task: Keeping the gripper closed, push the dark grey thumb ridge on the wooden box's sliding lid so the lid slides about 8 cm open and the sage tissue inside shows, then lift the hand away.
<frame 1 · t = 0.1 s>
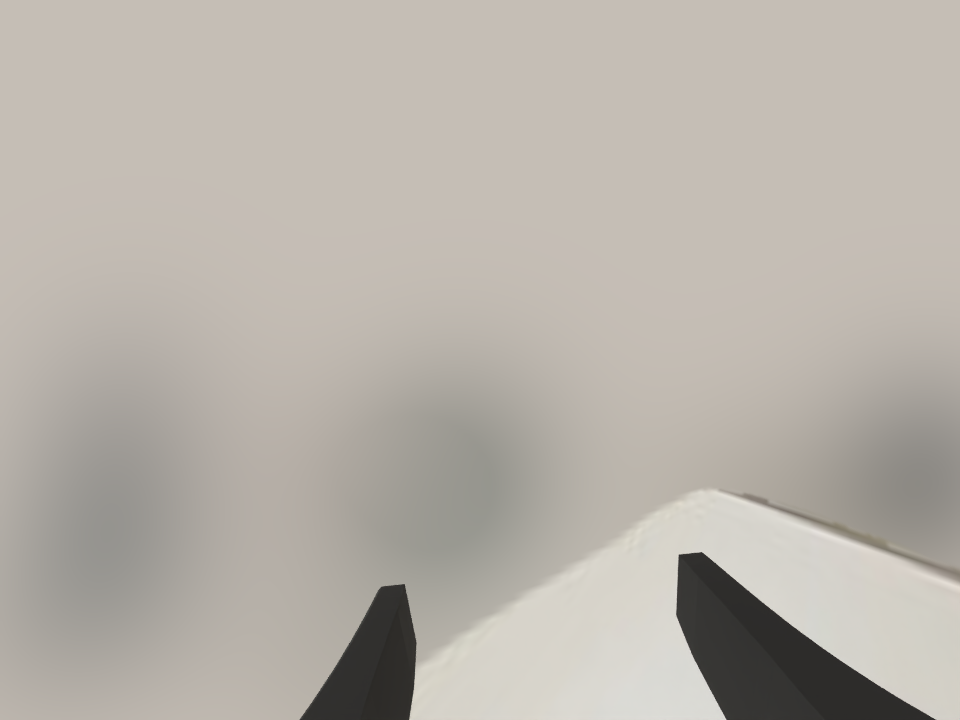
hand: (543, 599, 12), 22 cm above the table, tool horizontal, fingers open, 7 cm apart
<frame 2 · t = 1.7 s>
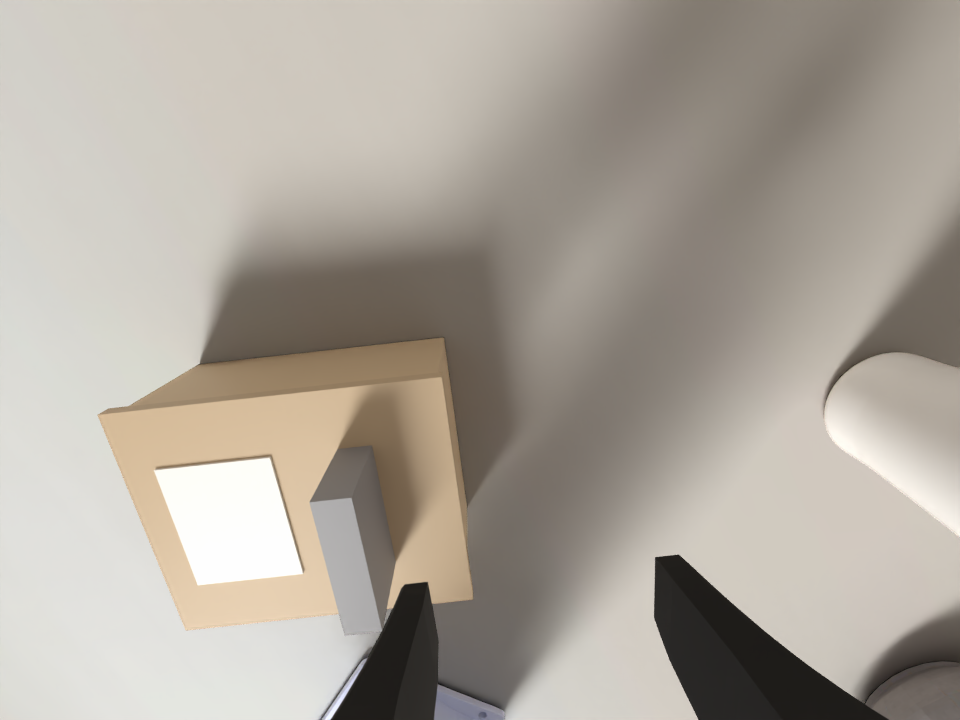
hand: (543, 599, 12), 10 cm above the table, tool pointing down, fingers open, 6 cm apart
sliding lid: (289, 539, 15), point 7 cm above the table, slide at 0.0 cm
wooden box: (341, 440, 22), on the table
coffee pot: (921, 646, 28), on the table
drinking glass: (868, 399, 22), on the table
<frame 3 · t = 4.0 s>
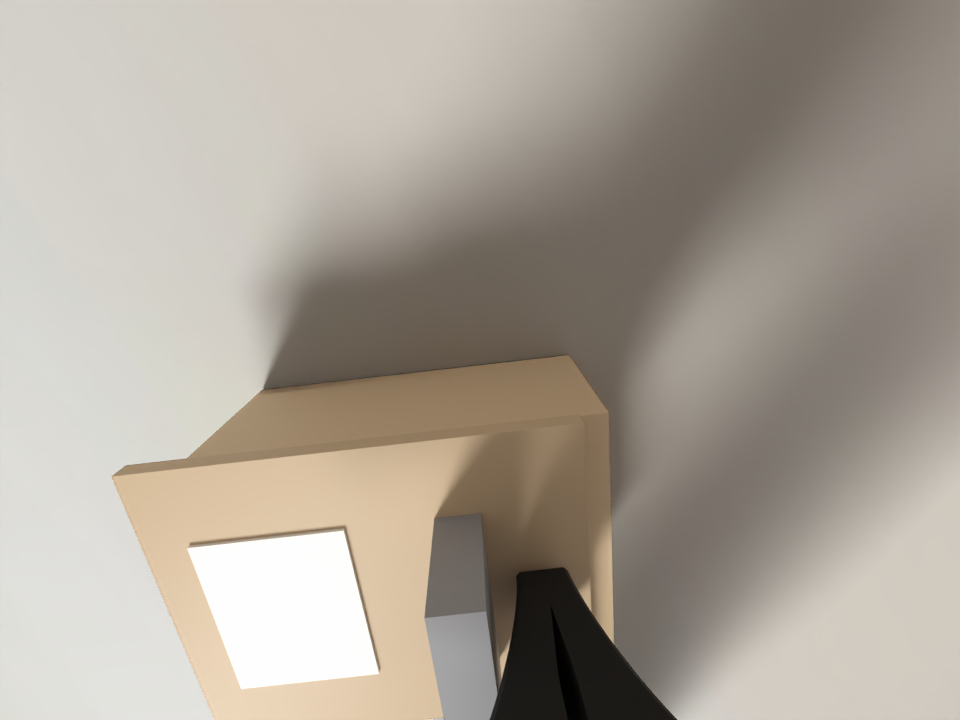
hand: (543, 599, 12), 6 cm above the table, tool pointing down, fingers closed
sliding lid: (372, 643, 11), point 7 cm above the table, slide at 1.1 cm, touching gripper
wooden box: (433, 481, 18), on the table
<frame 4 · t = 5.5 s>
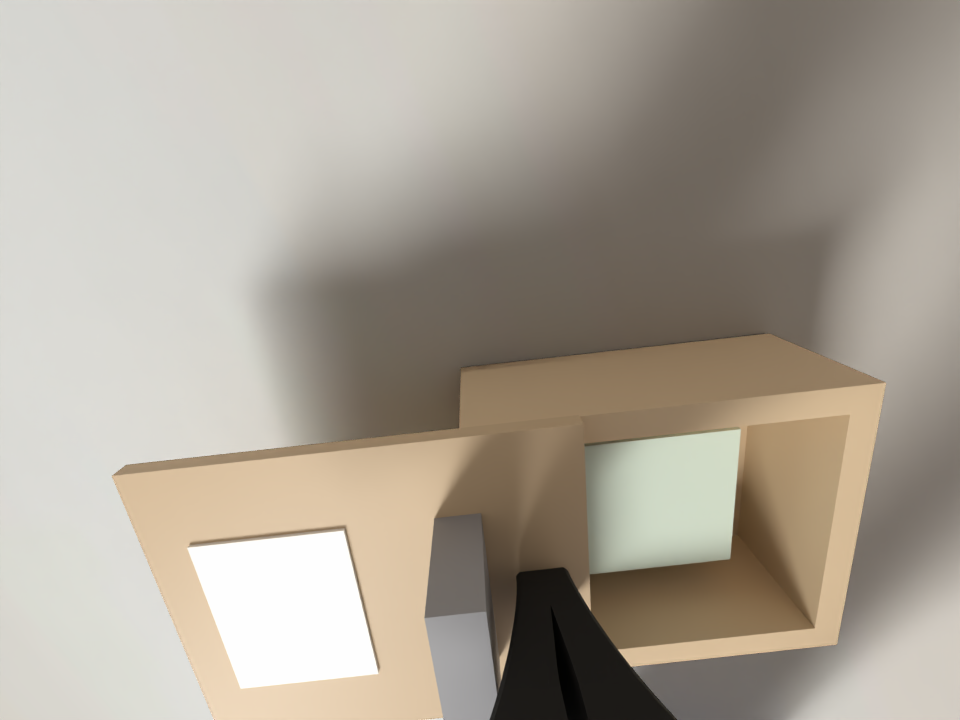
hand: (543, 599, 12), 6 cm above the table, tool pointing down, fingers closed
sliding lid: (372, 643, 11), point 7 cm above the table, slide at 8.2 cm, touching gripper
wooden box: (616, 461, 18), on the table
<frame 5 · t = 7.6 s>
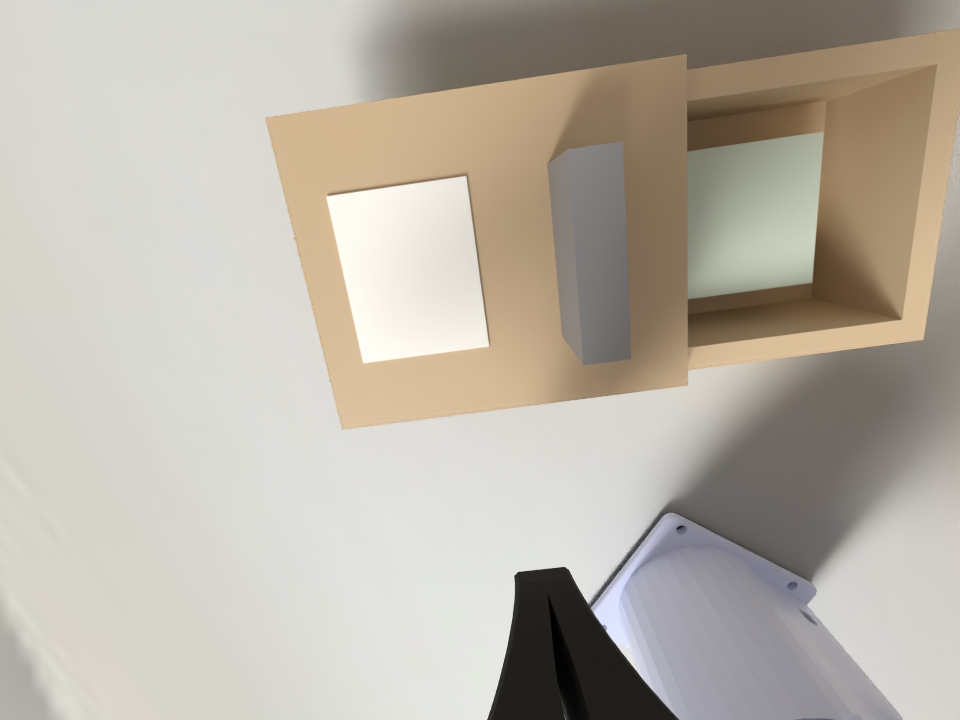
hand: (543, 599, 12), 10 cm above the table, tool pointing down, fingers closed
sliding lid: (496, 267, 13), point 7 cm above the table, slide at 8.3 cm
wooden box: (692, 222, 19), on the table
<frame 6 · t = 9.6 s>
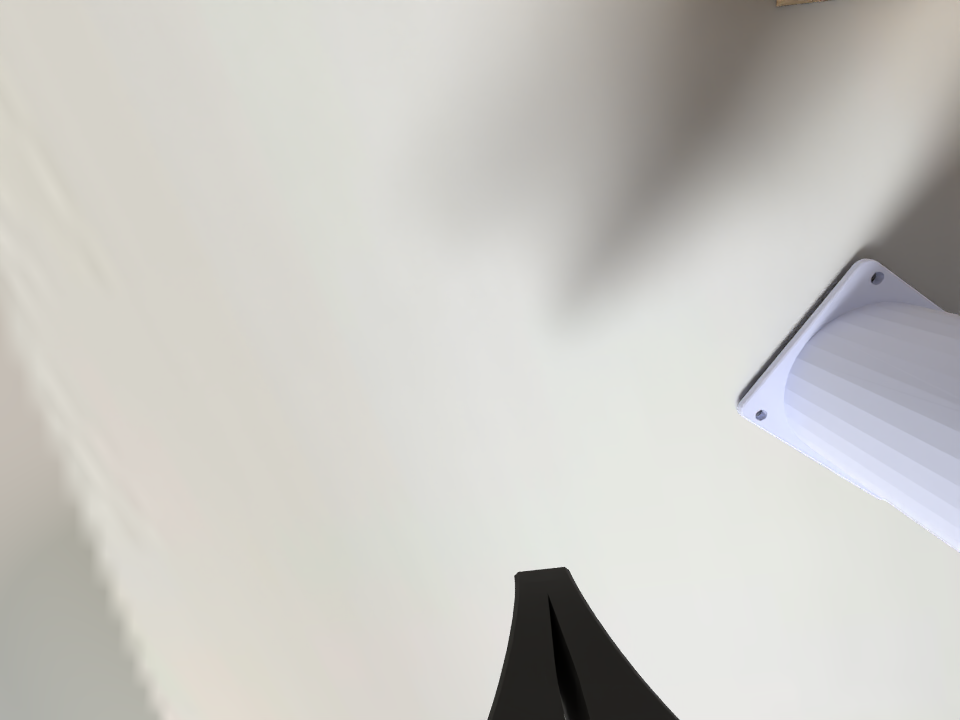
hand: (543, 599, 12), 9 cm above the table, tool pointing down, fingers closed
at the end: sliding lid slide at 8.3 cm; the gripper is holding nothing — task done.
